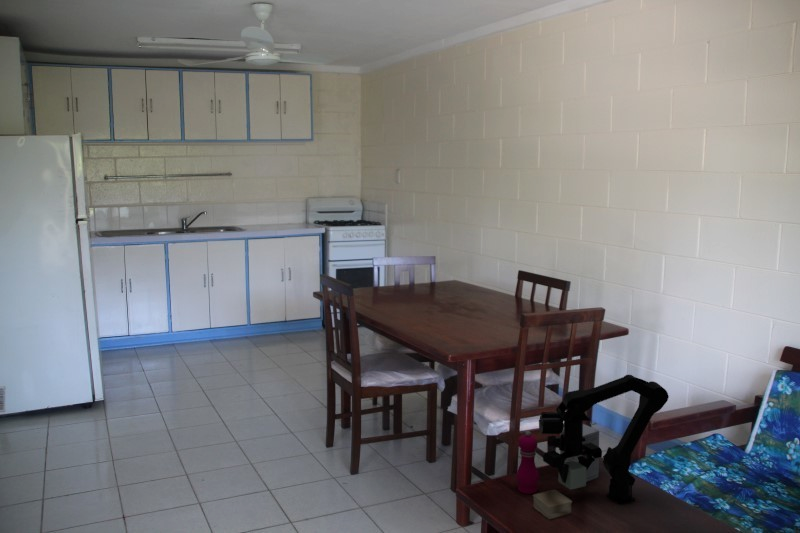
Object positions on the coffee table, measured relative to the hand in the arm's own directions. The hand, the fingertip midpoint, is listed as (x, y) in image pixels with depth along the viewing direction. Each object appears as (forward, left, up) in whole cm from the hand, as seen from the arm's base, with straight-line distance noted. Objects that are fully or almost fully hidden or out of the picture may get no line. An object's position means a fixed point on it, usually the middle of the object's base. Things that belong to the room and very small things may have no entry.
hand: (572, 480), depth 211 cm
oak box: (+10, +3, -6) cm, 12 cm away
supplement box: (-12, -12, -6) cm, 18 cm away
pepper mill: (+9, -11, -6) cm, 16 cm away
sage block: (0, 0, -1) cm, 1 cm away
